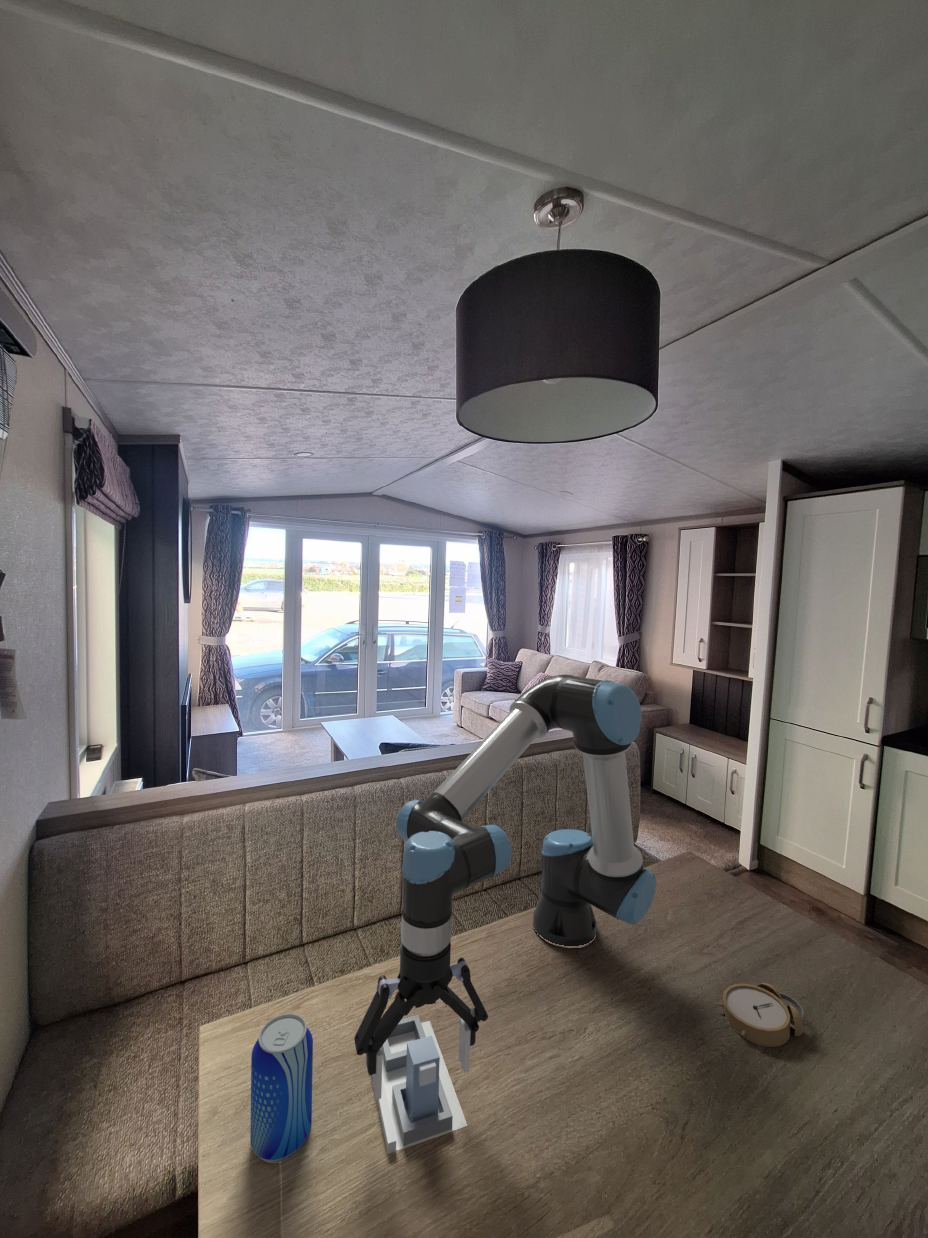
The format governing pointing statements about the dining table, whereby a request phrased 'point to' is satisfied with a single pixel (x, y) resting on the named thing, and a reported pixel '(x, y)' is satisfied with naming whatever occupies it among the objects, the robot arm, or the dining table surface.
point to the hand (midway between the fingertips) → (421, 1077)
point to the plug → (422, 1079)
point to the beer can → (281, 1088)
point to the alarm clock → (761, 1013)
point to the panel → (394, 1091)
